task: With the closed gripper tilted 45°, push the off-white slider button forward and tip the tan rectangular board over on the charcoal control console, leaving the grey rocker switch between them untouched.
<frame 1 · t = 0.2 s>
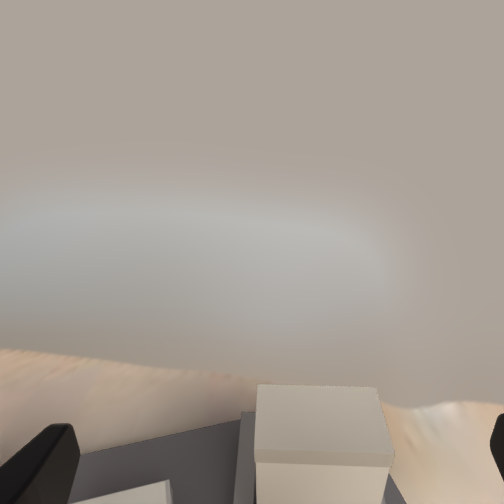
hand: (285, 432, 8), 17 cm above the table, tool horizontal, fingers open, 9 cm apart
slider button: (313, 479, 18), point 6 cm above the table, slide at 0.0 cm
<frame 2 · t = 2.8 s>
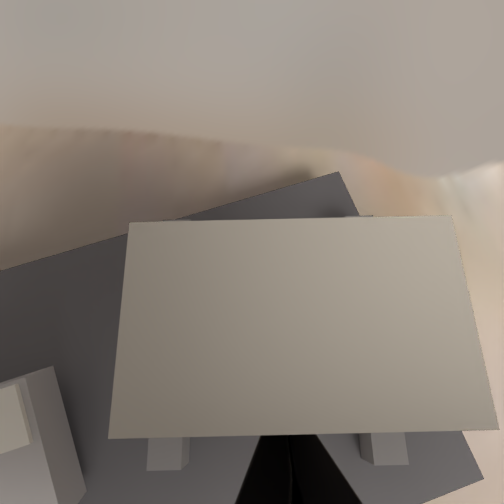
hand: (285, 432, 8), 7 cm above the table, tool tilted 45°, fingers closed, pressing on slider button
slider button: (279, 350, 10), point 7 cm above the table, slide at 1.0 cm, touching gripper
control console: (35, 433, 15), on the table
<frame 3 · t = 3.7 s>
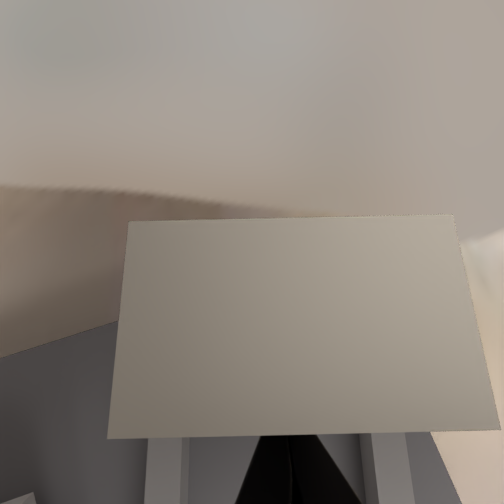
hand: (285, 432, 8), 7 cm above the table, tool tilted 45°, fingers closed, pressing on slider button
slider button: (279, 350, 10), point 7 cm above the table, slide at 4.5 cm, touching gripper
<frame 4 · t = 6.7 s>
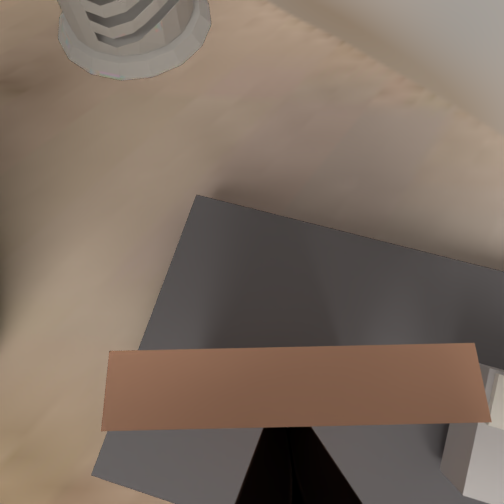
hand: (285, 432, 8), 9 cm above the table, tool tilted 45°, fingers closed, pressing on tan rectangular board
tan rectangular board: (277, 391, 11), point 7 cm above the table, hinge at 0.0°, touching gripper
french press: (147, 16, 25), on the table
control console: (480, 418, 17), on the table
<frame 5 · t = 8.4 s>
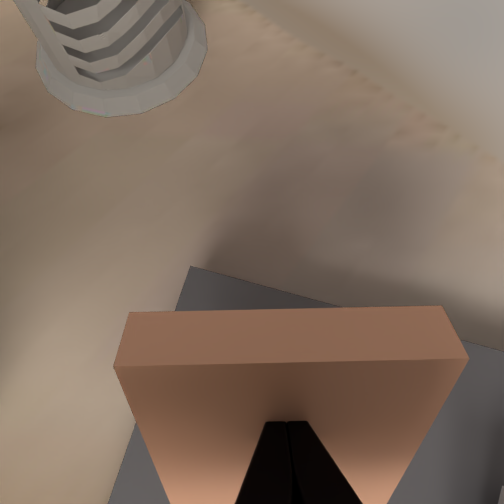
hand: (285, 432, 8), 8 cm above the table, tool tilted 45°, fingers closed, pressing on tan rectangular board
tan rectangular board: (280, 451, 10), point 6 cm above the table, hinge at 31.6°, touching control console, gripper
french press: (135, 40, 23), on the table
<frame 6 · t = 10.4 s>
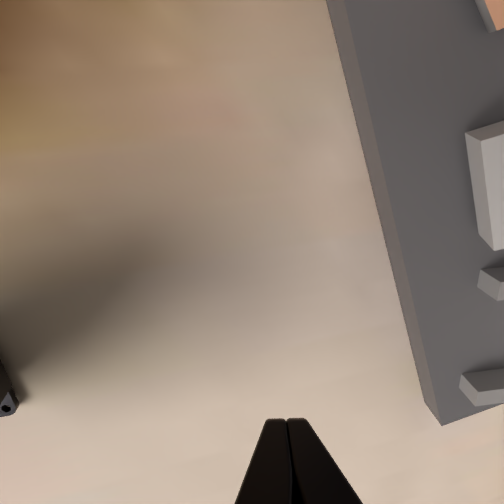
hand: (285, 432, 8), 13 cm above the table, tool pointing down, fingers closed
control console: (486, 159, 20), on the table
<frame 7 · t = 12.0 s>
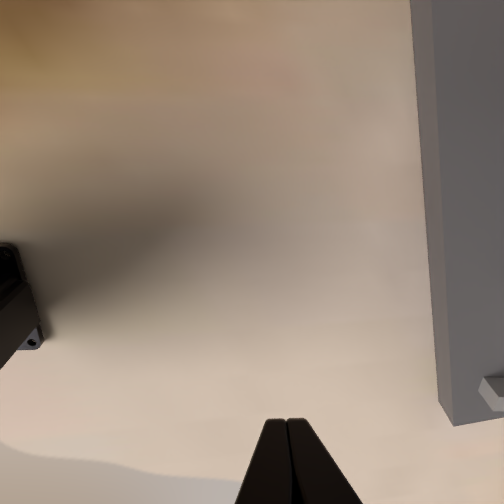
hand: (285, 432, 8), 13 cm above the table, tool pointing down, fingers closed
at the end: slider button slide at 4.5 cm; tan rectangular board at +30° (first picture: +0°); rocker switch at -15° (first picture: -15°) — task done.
